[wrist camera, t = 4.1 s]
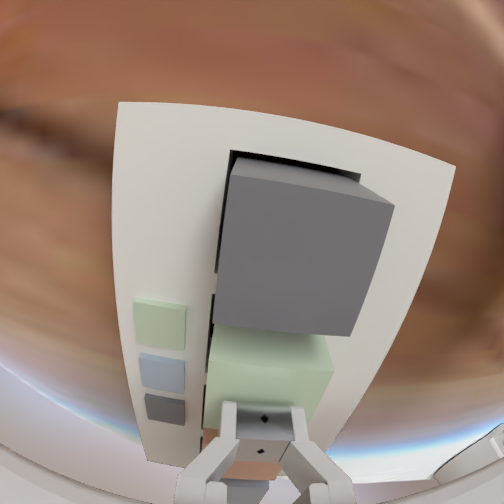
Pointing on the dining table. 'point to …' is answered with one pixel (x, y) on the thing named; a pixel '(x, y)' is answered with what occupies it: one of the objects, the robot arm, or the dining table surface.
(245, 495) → the key slate
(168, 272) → the keypad
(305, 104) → the dining table surface
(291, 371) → the key sage
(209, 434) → the key terracotta
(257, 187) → the key charcoal
